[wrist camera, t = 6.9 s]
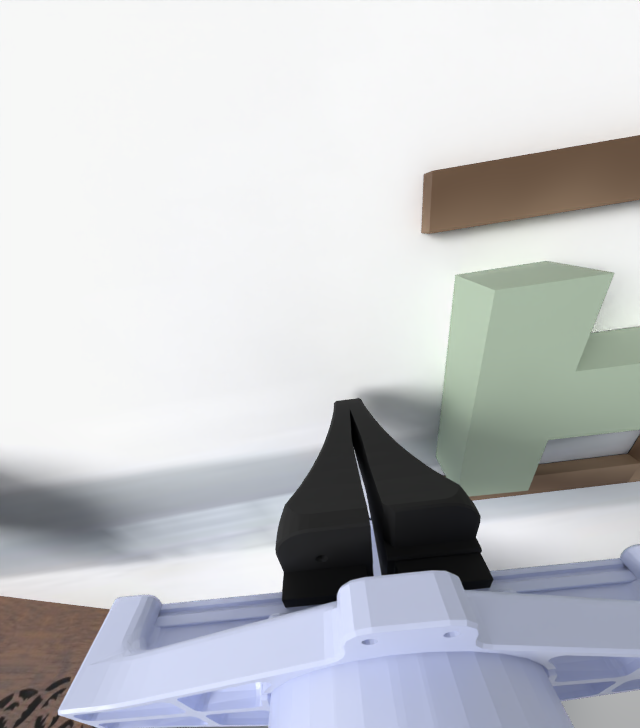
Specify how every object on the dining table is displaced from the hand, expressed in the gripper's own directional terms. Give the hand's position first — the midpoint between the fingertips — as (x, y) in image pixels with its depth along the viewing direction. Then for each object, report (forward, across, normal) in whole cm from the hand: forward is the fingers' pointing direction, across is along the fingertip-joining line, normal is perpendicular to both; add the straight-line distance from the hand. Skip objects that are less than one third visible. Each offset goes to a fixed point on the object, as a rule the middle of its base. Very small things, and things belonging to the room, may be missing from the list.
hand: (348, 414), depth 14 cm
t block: (+1, -11, 0) cm, 11 cm away
